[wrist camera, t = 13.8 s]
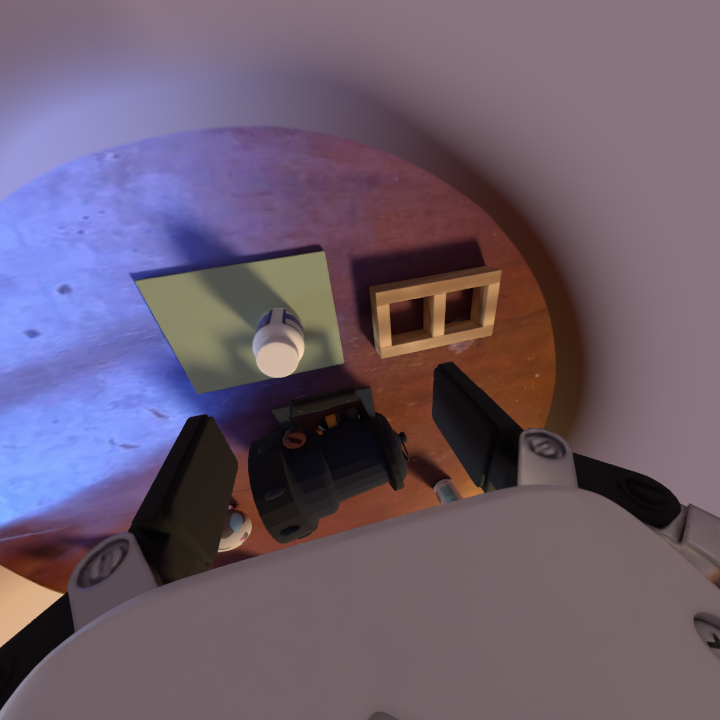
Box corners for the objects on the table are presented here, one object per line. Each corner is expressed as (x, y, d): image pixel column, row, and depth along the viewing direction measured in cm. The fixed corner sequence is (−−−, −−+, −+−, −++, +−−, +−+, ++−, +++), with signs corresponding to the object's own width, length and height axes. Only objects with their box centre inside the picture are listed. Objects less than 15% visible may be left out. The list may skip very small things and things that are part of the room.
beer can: (441, 493, 59) (471, 551, 49) (428, 488, 57) (457, 547, 47) (456, 480, 58) (490, 536, 48) (443, 474, 56) (476, 532, 46)
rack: (368, 286, 33) (375, 292, 30) (486, 265, 35) (502, 269, 32) (375, 348, 37) (381, 358, 34) (478, 326, 39) (492, 335, 36)
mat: (137, 279, 27) (134, 280, 27) (324, 250, 30) (324, 250, 29) (199, 392, 35) (197, 394, 34) (343, 361, 37) (344, 363, 37)
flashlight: (286, 476, 46) (229, 392, 35) (393, 432, 48) (371, 340, 38) (290, 571, 33) (206, 485, 23) (434, 504, 36) (418, 399, 25)
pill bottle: (264, 348, 33) (255, 387, 25) (254, 308, 30) (240, 339, 23) (306, 342, 34) (308, 379, 26) (299, 303, 31) (300, 331, 24)
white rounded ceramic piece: (255, 497, 47) (250, 536, 41) (253, 517, 49) (247, 556, 44) (206, 498, 44) (193, 540, 39) (206, 519, 47) (193, 561, 41)
